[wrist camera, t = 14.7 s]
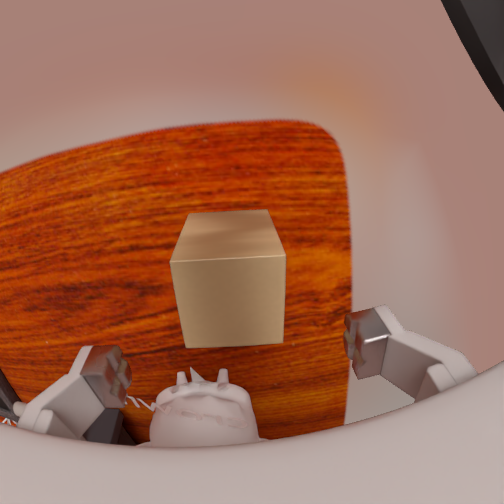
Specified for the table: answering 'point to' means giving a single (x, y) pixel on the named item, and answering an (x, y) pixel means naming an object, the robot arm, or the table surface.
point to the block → (229, 279)
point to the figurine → (202, 414)
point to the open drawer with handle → (99, 427)
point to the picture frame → (7, 399)
